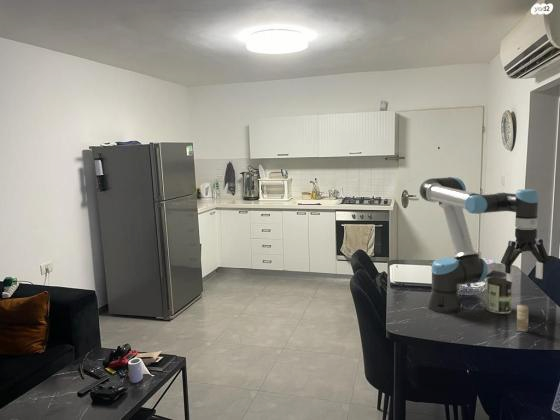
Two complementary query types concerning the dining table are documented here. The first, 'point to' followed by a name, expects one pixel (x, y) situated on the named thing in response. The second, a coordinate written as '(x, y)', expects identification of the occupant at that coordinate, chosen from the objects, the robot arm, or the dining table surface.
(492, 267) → the paper bowls
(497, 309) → the coffee can
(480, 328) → the dining table surface
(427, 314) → the dining table surface
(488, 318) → the dining table surface
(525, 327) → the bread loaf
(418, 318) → the dining table surface
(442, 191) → the robot arm
